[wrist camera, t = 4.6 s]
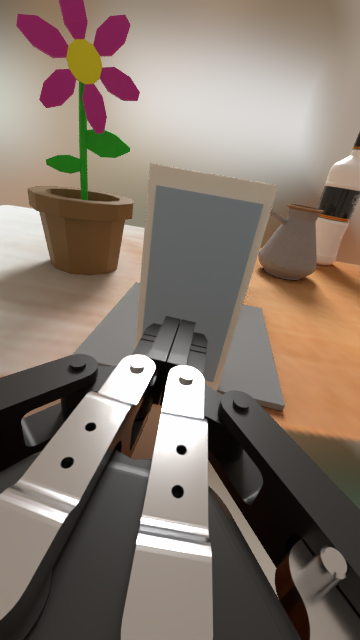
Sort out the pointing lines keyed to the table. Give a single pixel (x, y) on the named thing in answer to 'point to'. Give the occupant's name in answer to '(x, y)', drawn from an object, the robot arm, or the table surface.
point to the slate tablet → (201, 254)
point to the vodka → (337, 205)
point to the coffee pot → (292, 244)
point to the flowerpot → (82, 142)
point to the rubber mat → (241, 364)
